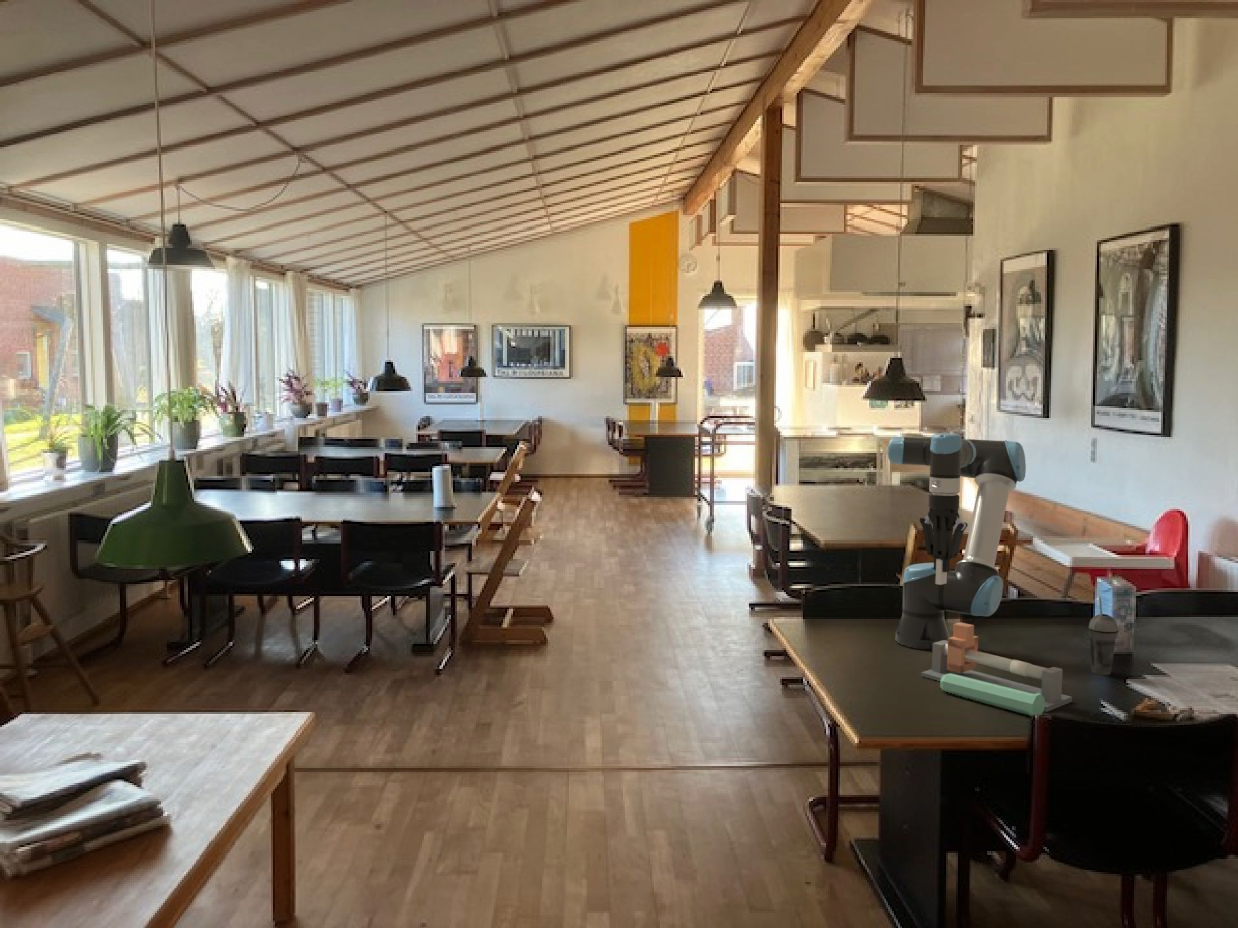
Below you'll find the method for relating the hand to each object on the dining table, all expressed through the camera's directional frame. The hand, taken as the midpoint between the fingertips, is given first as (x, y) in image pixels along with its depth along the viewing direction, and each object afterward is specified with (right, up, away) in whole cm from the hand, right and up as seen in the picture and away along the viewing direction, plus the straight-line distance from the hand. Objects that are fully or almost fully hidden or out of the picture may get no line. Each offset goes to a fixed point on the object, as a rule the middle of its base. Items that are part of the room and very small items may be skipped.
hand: (940, 583), depth 262 cm
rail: (+10, -25, -10) cm, 29 cm away
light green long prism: (+5, -27, -20) cm, 34 cm away
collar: (+4, -21, -3) cm, 22 cm away
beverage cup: (+44, -24, +4) cm, 50 cm away
